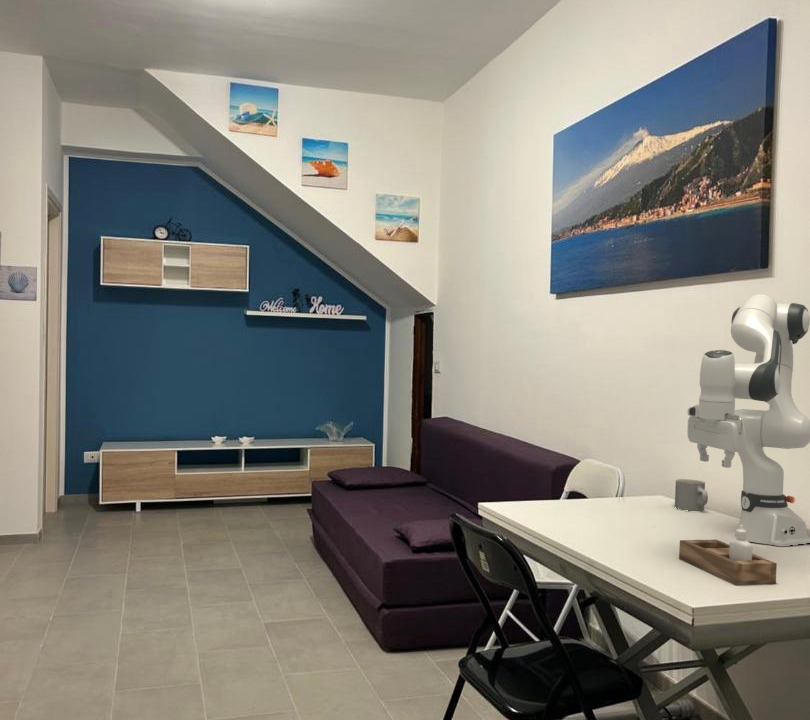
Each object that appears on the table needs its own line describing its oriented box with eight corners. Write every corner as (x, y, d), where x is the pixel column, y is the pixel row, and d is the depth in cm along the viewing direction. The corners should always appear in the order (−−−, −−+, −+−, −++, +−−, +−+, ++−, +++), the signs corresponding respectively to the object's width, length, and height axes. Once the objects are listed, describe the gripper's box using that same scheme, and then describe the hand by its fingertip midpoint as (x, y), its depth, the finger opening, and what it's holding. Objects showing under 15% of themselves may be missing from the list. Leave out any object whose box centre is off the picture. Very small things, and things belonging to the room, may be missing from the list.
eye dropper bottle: (745, 570, 197) (746, 522, 196) (753, 577, 191) (754, 528, 191) (727, 569, 197) (728, 522, 197) (734, 576, 192) (735, 527, 191)
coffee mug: (669, 506, 288) (670, 478, 288) (694, 506, 289) (695, 479, 289) (688, 513, 275) (689, 485, 275) (714, 513, 276) (715, 485, 276)
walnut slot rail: (715, 557, 213) (716, 539, 213) (775, 583, 190) (776, 563, 190) (679, 558, 211) (679, 540, 211) (735, 585, 187) (736, 564, 187)
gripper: (753, 416, 198) (751, 470, 199) (704, 408, 218) (702, 457, 219) (731, 416, 197) (729, 471, 197) (683, 408, 217) (682, 458, 217)
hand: (715, 464), depth 208 cm, fingers open, 8 cm apart
